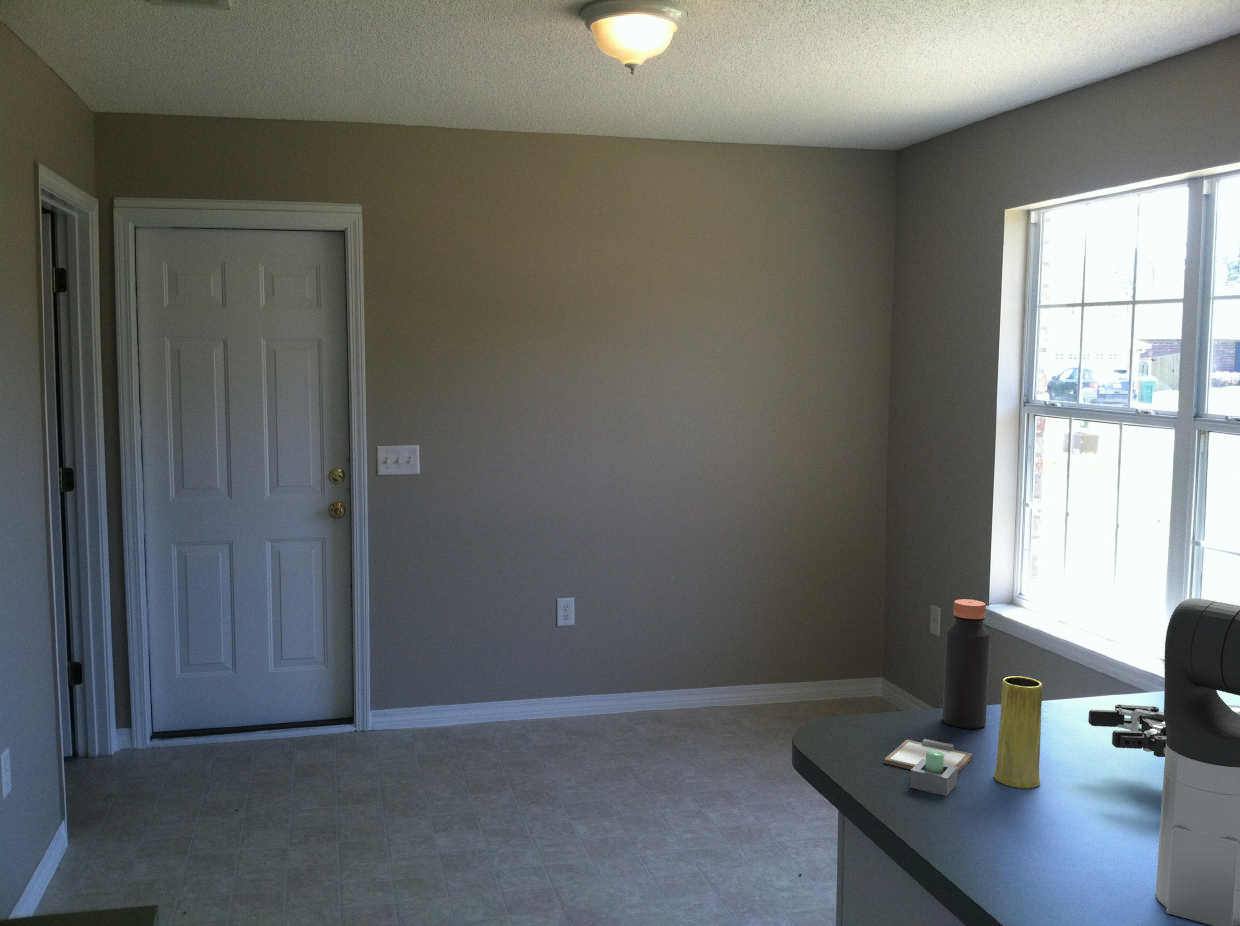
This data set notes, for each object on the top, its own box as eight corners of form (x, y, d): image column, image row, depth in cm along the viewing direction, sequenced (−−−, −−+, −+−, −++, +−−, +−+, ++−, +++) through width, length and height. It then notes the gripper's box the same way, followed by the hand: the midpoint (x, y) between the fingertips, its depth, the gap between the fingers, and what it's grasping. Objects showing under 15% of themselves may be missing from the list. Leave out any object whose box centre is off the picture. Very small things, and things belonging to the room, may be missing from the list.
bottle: (933, 720, 171) (939, 601, 169) (957, 712, 176) (963, 595, 174) (970, 732, 166) (976, 609, 164) (994, 724, 170) (1000, 603, 168)
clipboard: (952, 779, 147) (953, 769, 147) (884, 763, 153) (884, 753, 152) (972, 757, 155) (973, 748, 155) (906, 743, 161) (907, 734, 161)
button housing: (946, 796, 141) (947, 778, 141) (909, 787, 144) (910, 769, 144) (956, 784, 145) (957, 766, 145) (921, 775, 148) (922, 758, 148)
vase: (990, 783, 146) (996, 683, 144) (997, 768, 151) (1002, 672, 150) (1037, 792, 143) (1043, 690, 142) (1042, 777, 148) (1048, 679, 147)
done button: (940, 780, 143) (941, 758, 142) (922, 776, 144) (923, 754, 144) (945, 775, 145) (946, 752, 144) (928, 771, 146) (929, 749, 146)
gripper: (1198, 690, 151) (1083, 686, 152) (1250, 723, 137) (1123, 719, 138) (1194, 740, 152) (1080, 736, 153) (1246, 779, 138) (1120, 773, 139)
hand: (1100, 728), depth 146 cm, fingers open, 8 cm apart
